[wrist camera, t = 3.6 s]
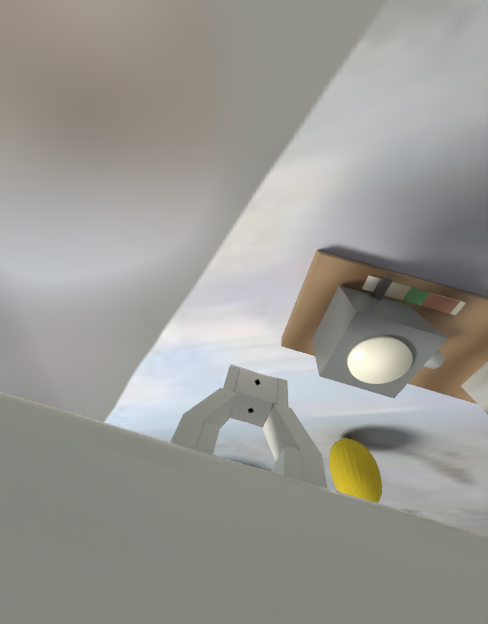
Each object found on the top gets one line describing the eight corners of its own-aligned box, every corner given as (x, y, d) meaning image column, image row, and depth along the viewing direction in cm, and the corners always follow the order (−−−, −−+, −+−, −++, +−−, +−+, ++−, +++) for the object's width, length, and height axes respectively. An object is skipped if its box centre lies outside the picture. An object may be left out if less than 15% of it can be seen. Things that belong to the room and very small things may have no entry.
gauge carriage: (454, 294, 17) (520, 330, 12) (397, 364, 21) (431, 412, 16) (348, 265, 17) (373, 289, 13) (311, 339, 21) (320, 379, 16)
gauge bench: (554, 316, 18) (743, 396, 11) (467, 392, 23) (555, 484, 16) (317, 250, 19) (338, 282, 11) (281, 338, 24) (280, 400, 16)
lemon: (333, 420, 28) (350, 492, 21) (374, 432, 28) (405, 508, 21) (318, 443, 31) (328, 513, 24) (356, 454, 31) (377, 528, 24)
